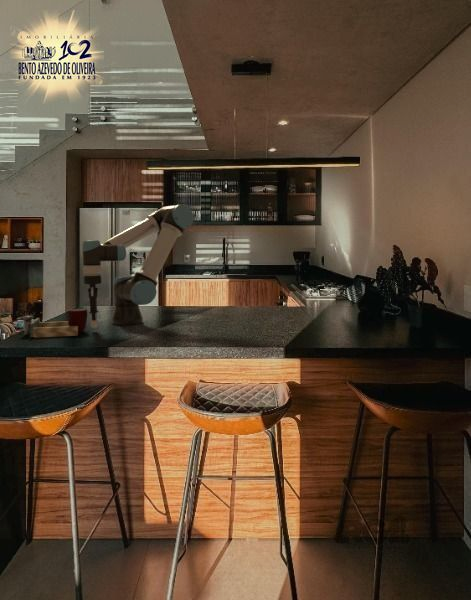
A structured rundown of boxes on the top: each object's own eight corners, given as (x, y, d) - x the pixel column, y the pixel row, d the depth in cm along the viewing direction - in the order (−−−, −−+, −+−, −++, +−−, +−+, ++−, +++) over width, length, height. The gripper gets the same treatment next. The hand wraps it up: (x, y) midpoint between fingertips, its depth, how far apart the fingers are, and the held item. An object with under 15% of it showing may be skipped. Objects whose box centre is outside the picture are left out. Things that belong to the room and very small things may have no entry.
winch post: (34, 333, 219) (33, 315, 218) (33, 335, 215) (32, 317, 214) (24, 333, 218) (23, 316, 217) (22, 335, 214) (21, 317, 213)
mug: (80, 334, 215) (79, 312, 214) (62, 334, 216) (61, 311, 215) (91, 330, 225) (90, 308, 224) (74, 330, 227) (73, 308, 226)
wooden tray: (81, 329, 229) (80, 316, 228) (77, 335, 213) (77, 321, 212) (37, 331, 225) (36, 318, 224) (30, 337, 209) (29, 323, 208)
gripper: (84, 274, 225) (86, 325, 228) (82, 276, 212) (84, 330, 215) (101, 274, 227) (103, 324, 229) (100, 275, 214) (102, 329, 217)
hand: (94, 327), depth 222 cm, fingers closed
